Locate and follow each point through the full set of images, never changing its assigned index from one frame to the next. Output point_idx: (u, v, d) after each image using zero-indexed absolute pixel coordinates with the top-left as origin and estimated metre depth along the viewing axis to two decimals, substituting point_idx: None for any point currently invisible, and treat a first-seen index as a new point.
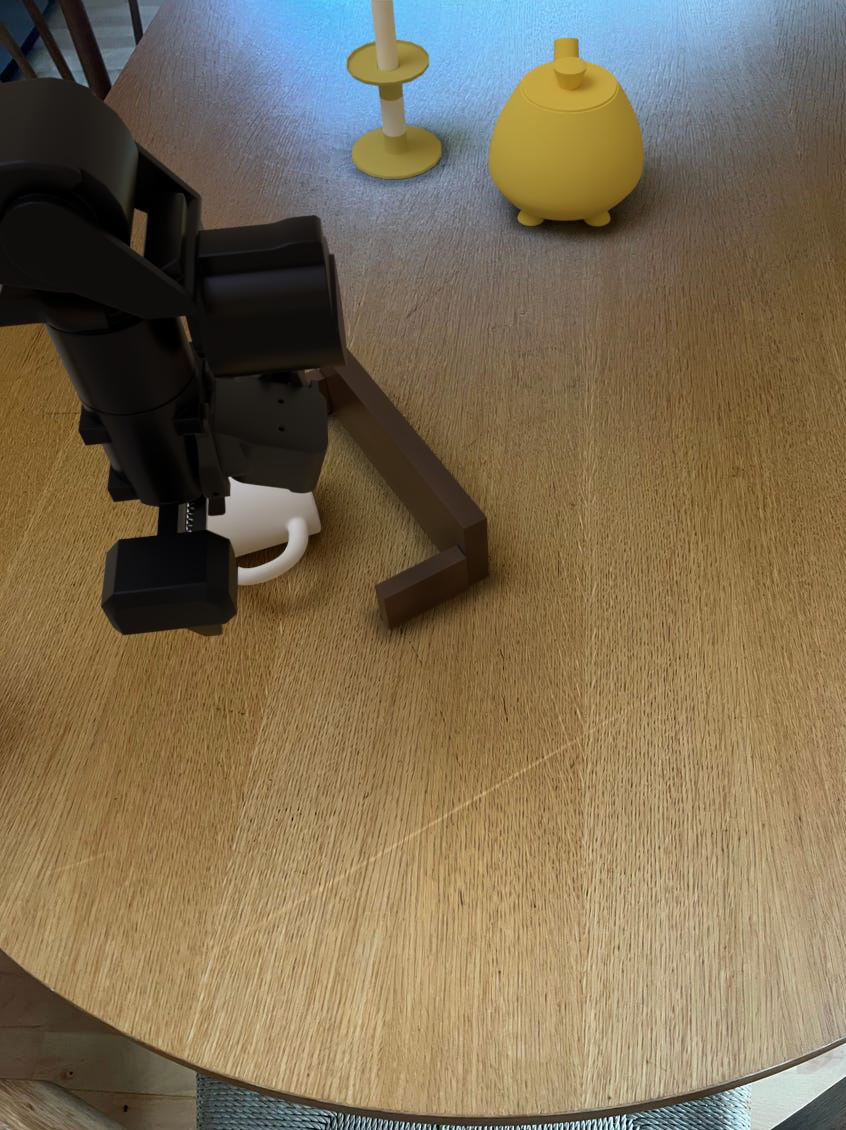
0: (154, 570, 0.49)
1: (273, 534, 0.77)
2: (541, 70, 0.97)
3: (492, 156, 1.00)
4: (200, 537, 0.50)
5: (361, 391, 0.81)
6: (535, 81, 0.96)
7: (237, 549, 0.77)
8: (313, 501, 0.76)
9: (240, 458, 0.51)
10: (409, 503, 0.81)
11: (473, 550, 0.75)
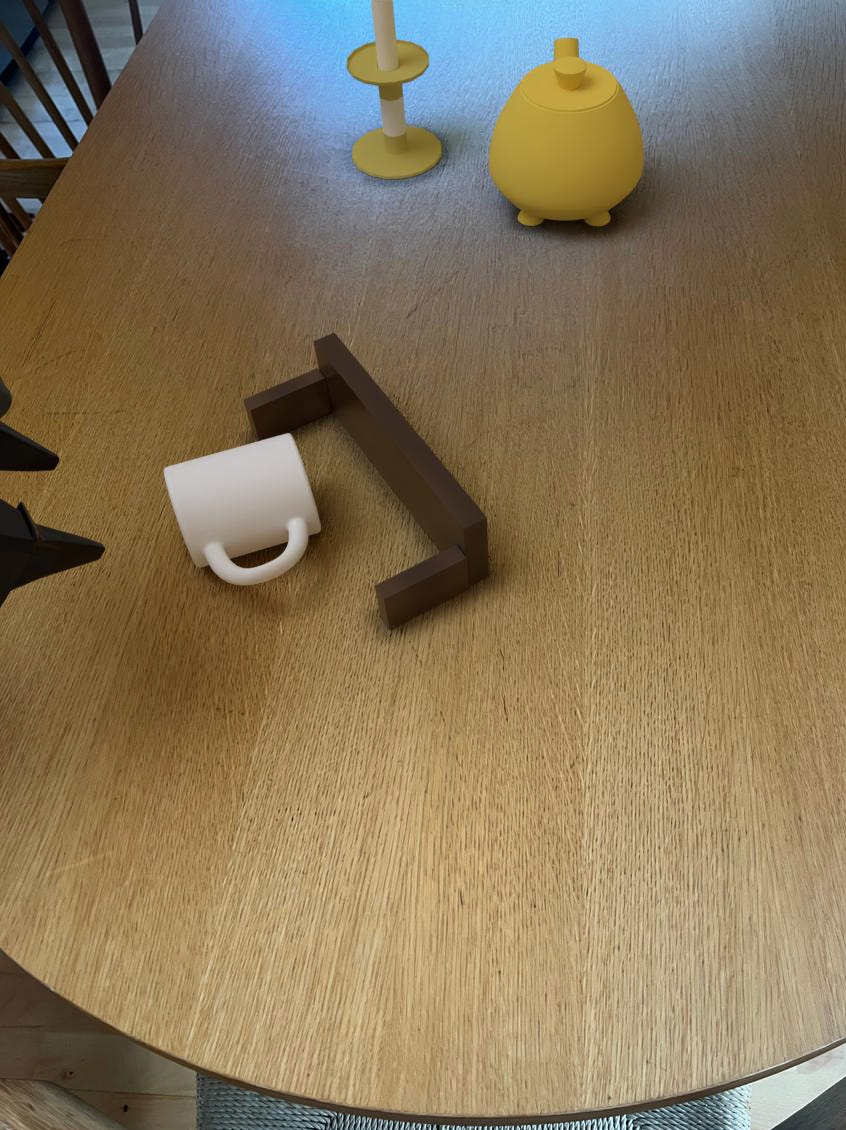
0: None
1: (273, 534, 0.77)
2: (541, 69, 0.97)
3: (492, 156, 1.00)
4: None
5: (361, 391, 0.81)
6: (535, 81, 0.96)
7: (237, 549, 0.77)
8: (313, 501, 0.76)
9: None
10: (409, 503, 0.81)
11: (473, 550, 0.75)
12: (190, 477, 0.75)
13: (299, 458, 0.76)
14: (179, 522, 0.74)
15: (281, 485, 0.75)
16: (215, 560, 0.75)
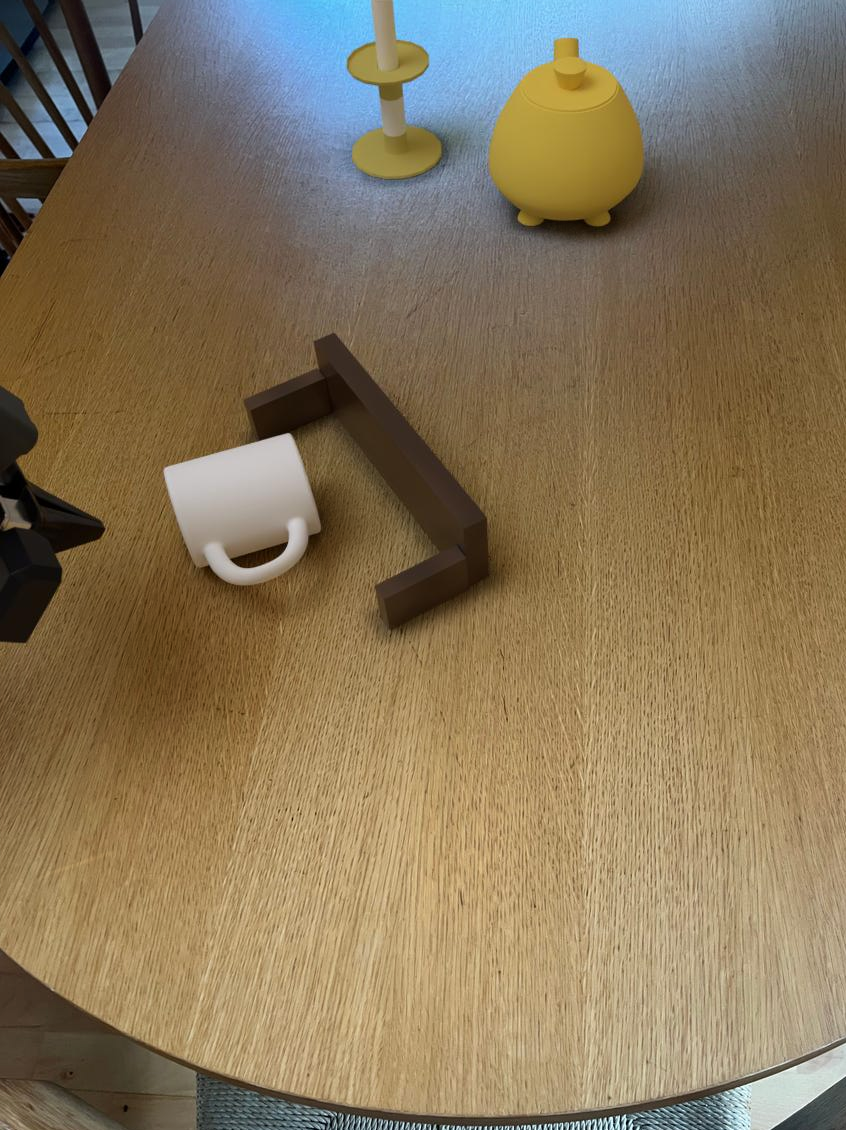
0: None
1: (273, 534, 0.77)
2: (541, 69, 0.97)
3: (492, 156, 1.00)
4: None
5: (361, 391, 0.81)
6: (535, 81, 0.96)
7: (237, 549, 0.77)
8: (313, 501, 0.76)
9: None
10: (409, 503, 0.81)
11: (473, 550, 0.75)
12: (190, 477, 0.75)
13: (299, 458, 0.76)
14: (179, 522, 0.74)
15: (281, 485, 0.75)
16: (215, 560, 0.75)
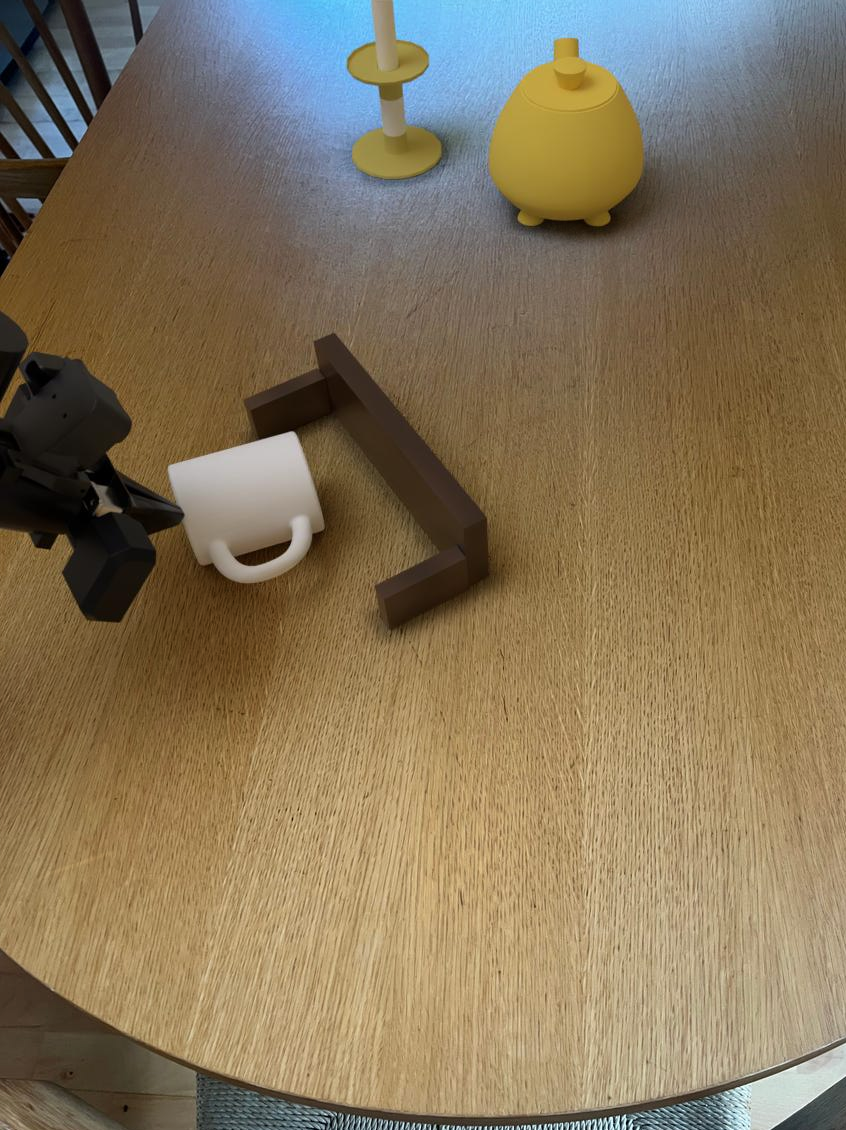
0: (86, 574, 0.62)
1: (277, 532, 0.77)
2: (541, 69, 0.97)
3: (492, 156, 1.00)
4: (91, 529, 0.62)
5: (361, 391, 0.81)
6: (535, 81, 0.96)
7: (240, 546, 0.77)
8: (317, 499, 0.76)
9: (62, 459, 0.61)
10: (409, 503, 0.81)
11: (473, 550, 0.75)
12: (194, 475, 0.75)
13: (303, 456, 0.76)
14: (183, 520, 0.74)
15: (284, 483, 0.75)
16: (219, 558, 0.75)
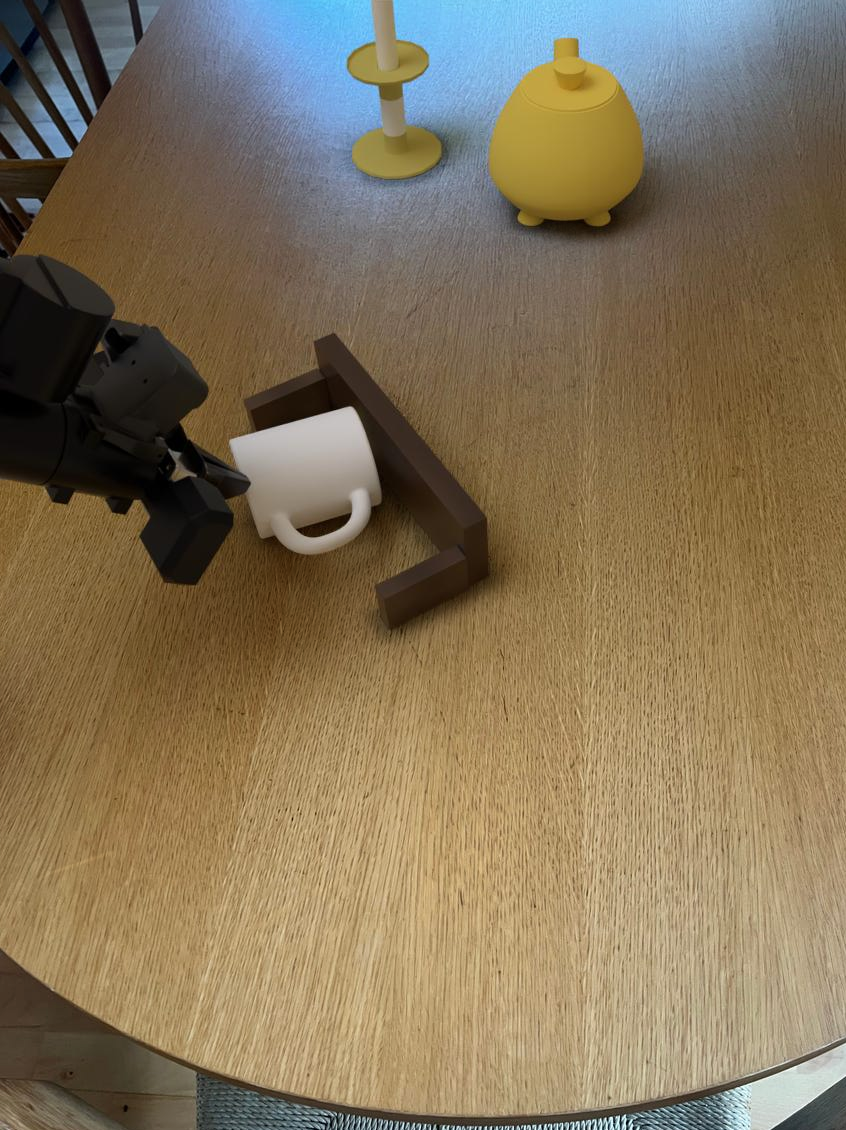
0: (165, 536, 0.63)
1: (336, 505, 0.78)
2: (541, 69, 0.97)
3: (492, 156, 1.00)
4: (170, 492, 0.63)
5: (361, 391, 0.81)
6: (535, 81, 0.96)
7: (301, 519, 0.78)
8: (376, 472, 0.78)
9: (142, 424, 0.63)
10: (409, 503, 0.81)
11: (473, 550, 0.75)
12: (256, 448, 0.76)
13: (363, 430, 0.77)
14: (246, 492, 0.75)
15: (345, 456, 0.77)
16: (281, 529, 0.76)
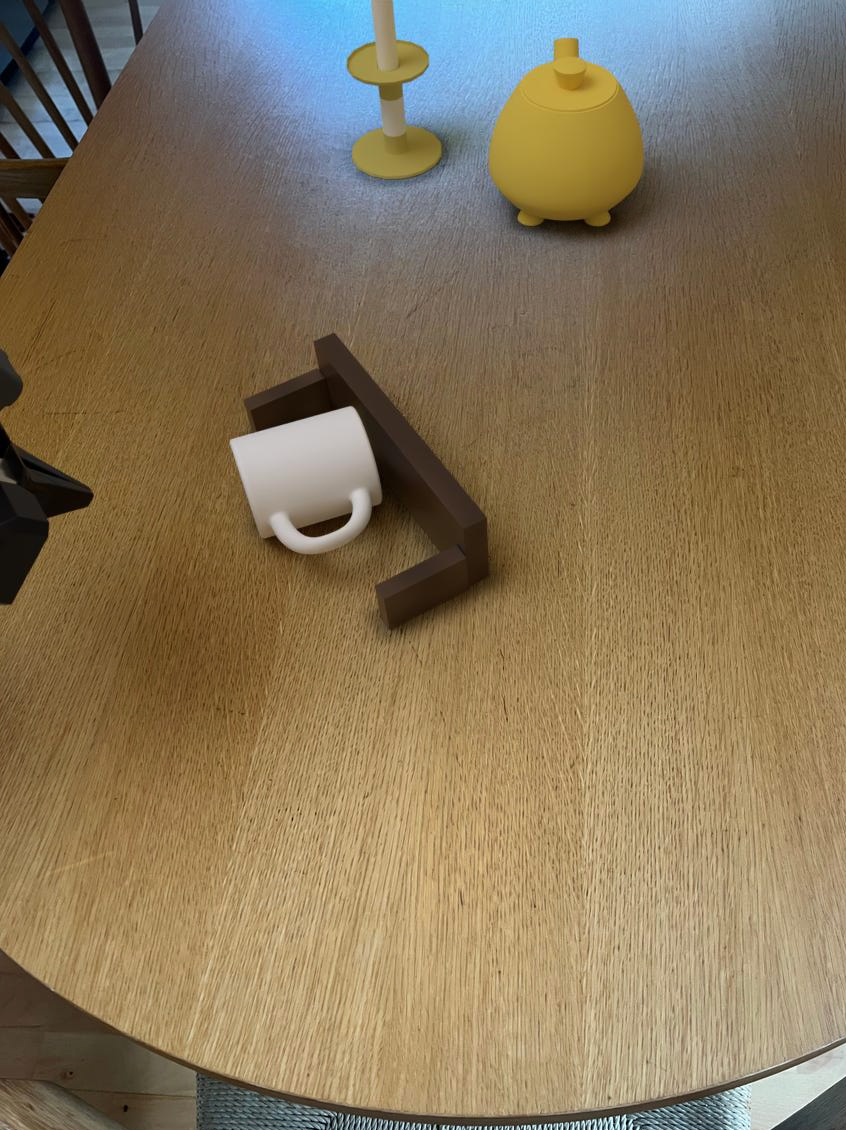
0: None
1: (337, 505, 0.78)
2: (541, 69, 0.97)
3: (492, 156, 1.00)
4: None
5: (361, 391, 0.81)
6: (535, 81, 0.96)
7: (301, 519, 0.78)
8: (377, 472, 0.78)
9: None
10: (409, 503, 0.81)
11: (473, 550, 0.75)
12: (257, 448, 0.76)
13: (363, 430, 0.77)
14: (247, 492, 0.75)
15: (346, 456, 0.77)
16: (282, 529, 0.76)
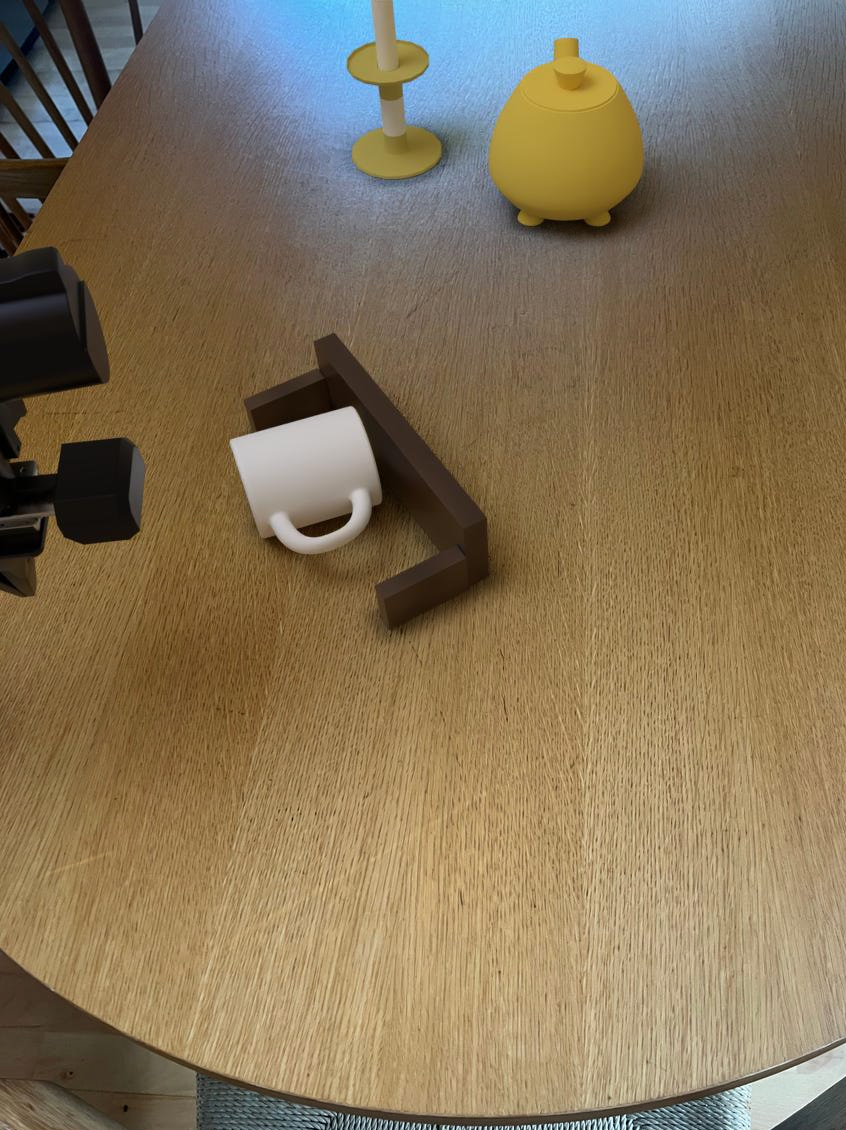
0: (97, 471, 0.56)
1: (337, 505, 0.78)
2: (541, 69, 0.97)
3: (492, 156, 1.00)
4: (69, 447, 0.57)
5: (361, 391, 0.81)
6: (535, 81, 0.96)
7: (301, 519, 0.78)
8: (377, 472, 0.78)
9: (0, 402, 0.57)
10: (409, 503, 0.81)
11: (473, 550, 0.75)
12: (257, 448, 0.76)
13: (363, 430, 0.77)
14: (247, 492, 0.75)
15: (346, 456, 0.77)
16: (282, 529, 0.76)
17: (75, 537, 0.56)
